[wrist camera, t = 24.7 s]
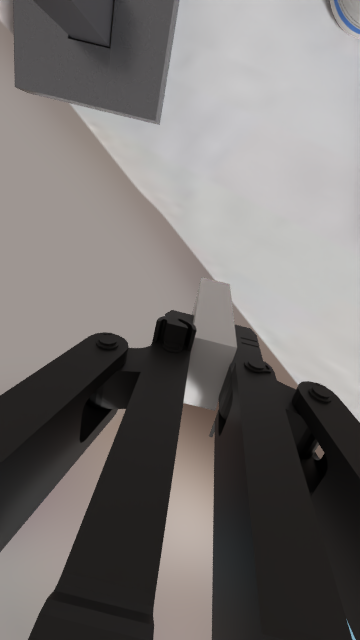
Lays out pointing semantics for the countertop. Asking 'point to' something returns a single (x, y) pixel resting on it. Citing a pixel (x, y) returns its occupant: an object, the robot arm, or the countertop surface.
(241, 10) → the countertop surface
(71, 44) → the socket plate
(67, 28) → the plug
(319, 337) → the countertop surface
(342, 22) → the supplement tub
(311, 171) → the countertop surface
